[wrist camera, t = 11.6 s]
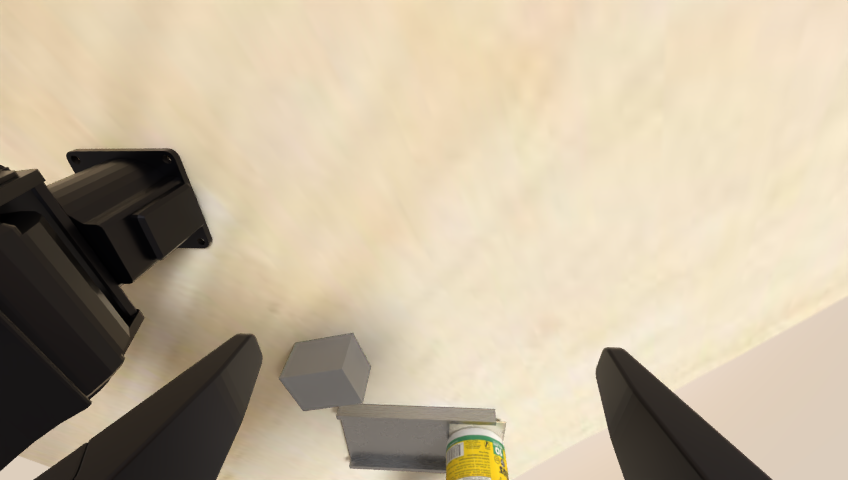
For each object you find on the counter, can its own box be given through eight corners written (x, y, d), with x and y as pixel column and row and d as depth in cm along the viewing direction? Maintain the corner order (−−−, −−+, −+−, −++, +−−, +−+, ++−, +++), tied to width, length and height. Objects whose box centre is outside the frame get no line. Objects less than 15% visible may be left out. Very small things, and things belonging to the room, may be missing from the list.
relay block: (317, 373, 31) (303, 411, 28) (296, 341, 29) (278, 378, 26) (371, 364, 30) (362, 403, 27) (353, 331, 28) (341, 368, 25)
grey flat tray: (352, 456, 38) (349, 468, 36) (339, 403, 33) (336, 416, 32) (497, 462, 37) (499, 475, 36) (506, 409, 32) (508, 422, 31)
